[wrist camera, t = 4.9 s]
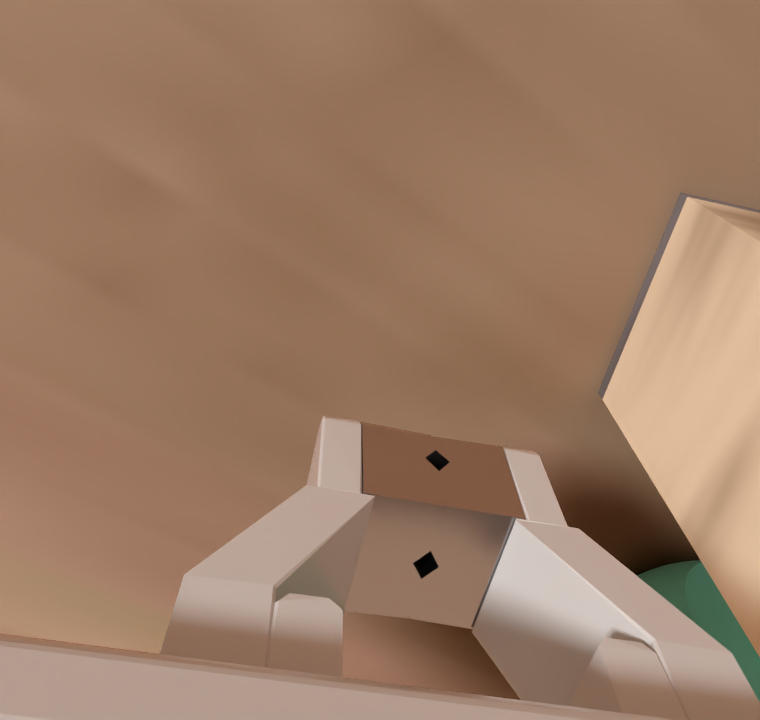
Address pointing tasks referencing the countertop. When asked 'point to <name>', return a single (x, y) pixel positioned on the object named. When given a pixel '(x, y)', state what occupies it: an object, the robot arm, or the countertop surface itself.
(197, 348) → the countertop surface
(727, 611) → the decorative dice
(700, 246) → the birch block
